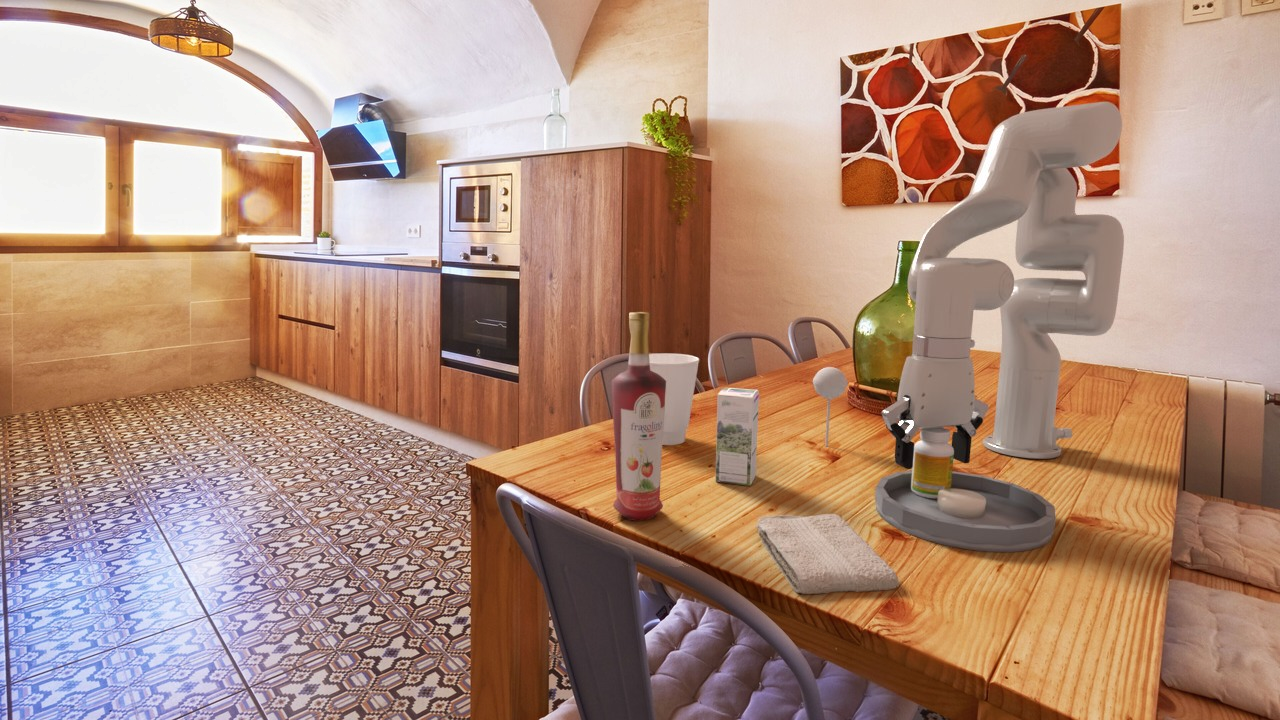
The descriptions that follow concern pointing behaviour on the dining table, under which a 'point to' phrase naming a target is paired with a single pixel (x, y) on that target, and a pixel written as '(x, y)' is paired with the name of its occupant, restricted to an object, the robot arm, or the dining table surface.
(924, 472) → the supplement bottle
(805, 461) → the dining table surface
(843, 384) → the lollipop
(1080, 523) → the dining table surface
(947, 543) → the ring tray
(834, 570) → the washcloth
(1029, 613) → the dining table surface
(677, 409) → the cup
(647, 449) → the liquor
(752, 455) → the syrup box
